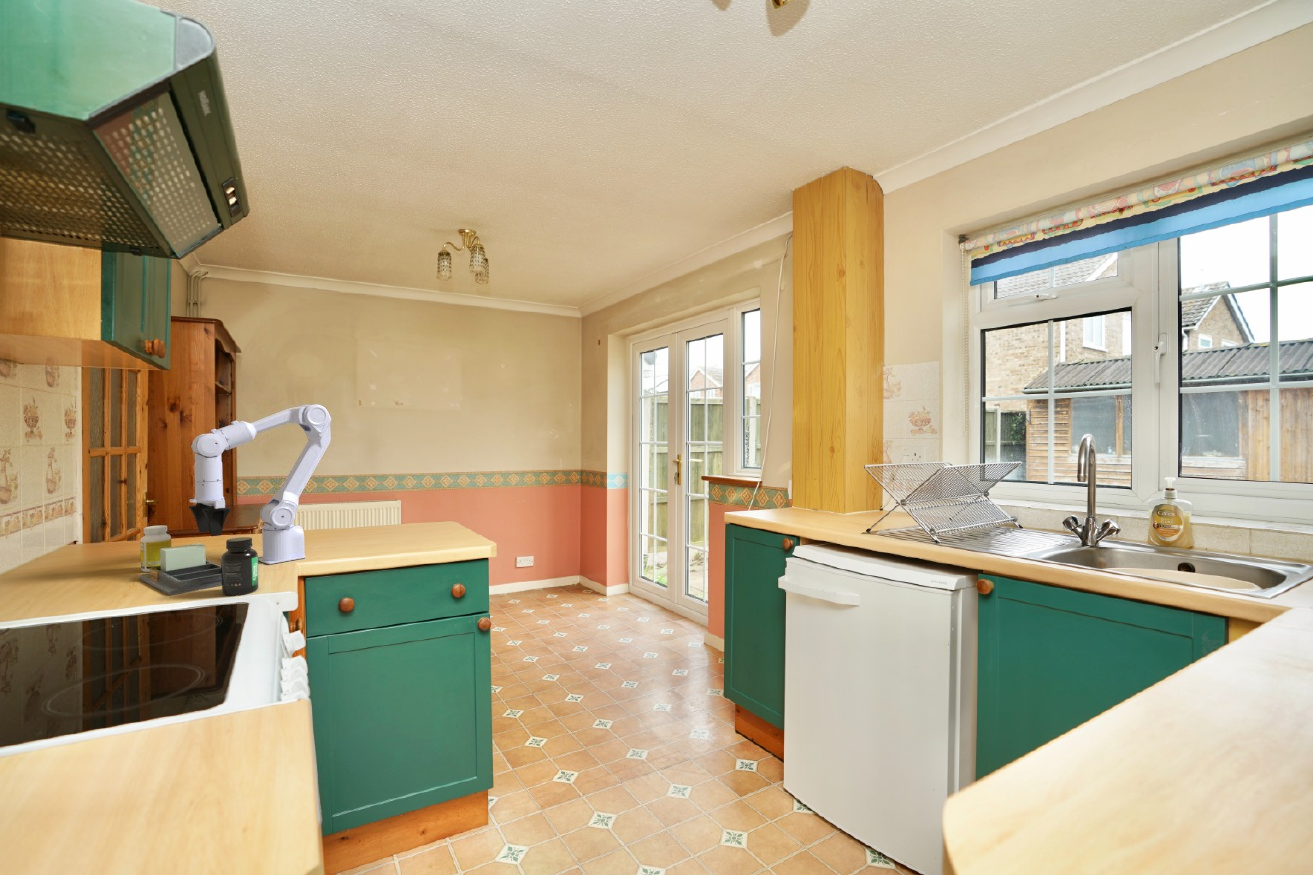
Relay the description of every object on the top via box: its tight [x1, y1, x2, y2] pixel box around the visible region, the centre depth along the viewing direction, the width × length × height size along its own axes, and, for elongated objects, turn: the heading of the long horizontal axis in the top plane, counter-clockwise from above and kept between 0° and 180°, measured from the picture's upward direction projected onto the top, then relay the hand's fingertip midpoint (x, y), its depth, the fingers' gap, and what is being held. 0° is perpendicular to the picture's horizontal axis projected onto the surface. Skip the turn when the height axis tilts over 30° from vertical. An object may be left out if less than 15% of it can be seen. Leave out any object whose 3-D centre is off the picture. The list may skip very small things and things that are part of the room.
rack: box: [138, 559, 222, 596], centre depth 147 cm, size 15×22×2 cm
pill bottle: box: [139, 525, 173, 573], centre depth 156 cm, size 6×6×11 cm
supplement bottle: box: [220, 536, 259, 597], centre depth 137 cm, size 7×7×12 cm
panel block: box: [160, 542, 207, 572], centre depth 150 cm, size 8×4×6 cm, turn 144°
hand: (210, 533), depth 155 cm, fingers open, 7 cm apart
